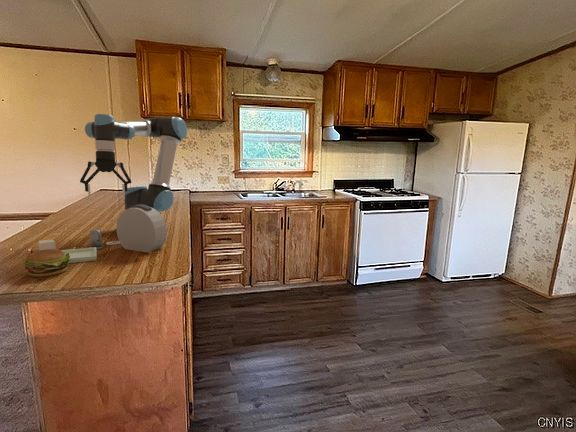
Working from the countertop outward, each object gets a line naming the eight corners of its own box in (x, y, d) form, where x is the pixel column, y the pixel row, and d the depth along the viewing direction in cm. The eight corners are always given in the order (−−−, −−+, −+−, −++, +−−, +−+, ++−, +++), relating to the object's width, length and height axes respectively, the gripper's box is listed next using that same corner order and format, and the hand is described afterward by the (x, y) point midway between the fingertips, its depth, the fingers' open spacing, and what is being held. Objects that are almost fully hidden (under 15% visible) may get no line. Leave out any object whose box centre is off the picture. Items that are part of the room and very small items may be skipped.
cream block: (53, 250, 149) (52, 239, 148) (56, 253, 145) (55, 241, 144) (39, 252, 146) (38, 241, 145) (41, 255, 142) (40, 243, 141)
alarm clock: (167, 249, 156) (166, 205, 152) (156, 253, 149) (154, 208, 145) (129, 243, 162) (127, 201, 159) (117, 247, 155) (114, 204, 152)
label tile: (120, 241, 165) (120, 240, 165) (121, 243, 162) (121, 242, 162) (106, 242, 163) (106, 242, 163) (106, 244, 159) (106, 244, 159)
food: (18, 281, 114) (16, 258, 113) (30, 268, 127) (28, 247, 126) (67, 276, 120) (65, 254, 118) (73, 264, 133) (72, 244, 131)
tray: (96, 251, 150) (96, 247, 149) (96, 260, 137) (96, 256, 137) (57, 254, 143) (57, 250, 143) (54, 264, 131) (53, 260, 131)
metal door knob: (103, 246, 157) (102, 228, 156) (103, 249, 153) (102, 231, 151) (90, 247, 155) (88, 229, 153) (89, 250, 150) (88, 232, 149)
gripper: (135, 152, 161) (136, 197, 165) (72, 149, 149) (74, 198, 152) (137, 152, 155) (138, 199, 158) (71, 149, 143) (74, 200, 146)
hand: (107, 199), depth 155 cm, fingers open, 13 cm apart
